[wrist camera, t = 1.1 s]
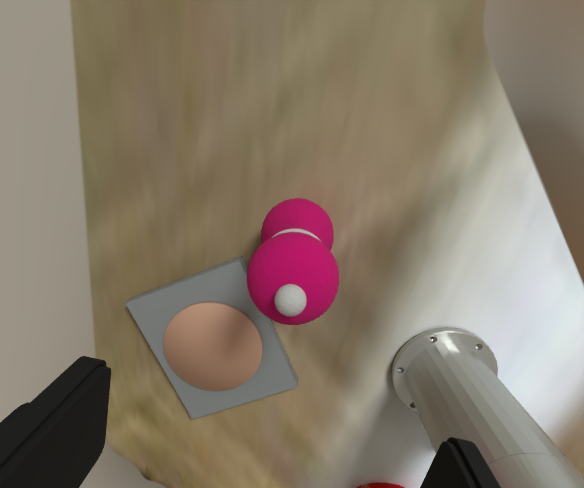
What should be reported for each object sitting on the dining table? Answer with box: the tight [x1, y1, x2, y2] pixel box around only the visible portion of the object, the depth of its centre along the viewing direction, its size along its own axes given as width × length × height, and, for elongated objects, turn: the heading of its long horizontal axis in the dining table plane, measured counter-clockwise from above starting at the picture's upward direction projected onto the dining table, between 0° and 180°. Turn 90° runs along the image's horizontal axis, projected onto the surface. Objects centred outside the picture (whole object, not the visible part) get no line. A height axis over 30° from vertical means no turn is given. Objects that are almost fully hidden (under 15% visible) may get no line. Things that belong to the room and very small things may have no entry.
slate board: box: [125, 256, 298, 419], centre depth 39 cm, size 18×15×2 cm
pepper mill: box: [247, 198, 339, 325], centre depth 26 cm, size 7×7×20 cm
